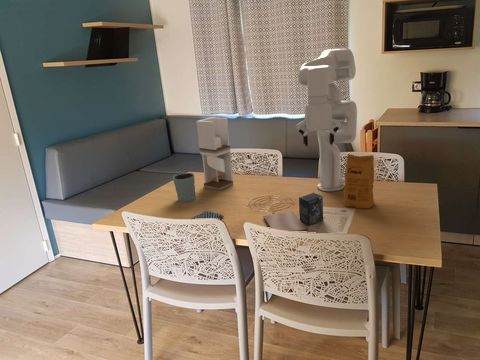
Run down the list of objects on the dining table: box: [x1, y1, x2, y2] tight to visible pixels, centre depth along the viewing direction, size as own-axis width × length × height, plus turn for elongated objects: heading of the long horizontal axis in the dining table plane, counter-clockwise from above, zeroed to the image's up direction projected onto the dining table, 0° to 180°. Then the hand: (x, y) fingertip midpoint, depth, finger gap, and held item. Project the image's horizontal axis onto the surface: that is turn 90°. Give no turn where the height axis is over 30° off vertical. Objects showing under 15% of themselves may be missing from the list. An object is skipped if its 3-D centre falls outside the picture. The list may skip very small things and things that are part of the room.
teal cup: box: [172, 172, 197, 203], centre depth 195 cm, size 10×10×12 cm
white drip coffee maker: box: [196, 116, 234, 191], centre depth 207 cm, size 11×11×35 cm
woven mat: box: [191, 210, 225, 220], centre depth 170 cm, size 10×11×2 cm
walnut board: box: [263, 211, 309, 232], centre depth 158 cm, size 12×18×2 cm
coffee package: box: [343, 153, 375, 209], centre depth 169 cm, size 10×12×22 cm
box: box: [298, 192, 324, 227], centre depth 158 cm, size 8×6×11 cm
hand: (318, 144), depth 158 cm, fingers open, 9 cm apart
